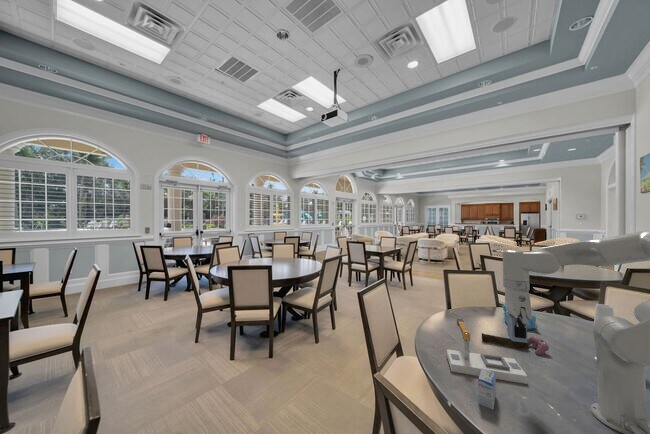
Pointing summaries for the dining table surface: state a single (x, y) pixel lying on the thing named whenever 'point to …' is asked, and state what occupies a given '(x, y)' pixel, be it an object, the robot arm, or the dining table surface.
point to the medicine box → (487, 388)
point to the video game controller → (538, 341)
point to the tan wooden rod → (463, 329)
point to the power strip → (485, 365)
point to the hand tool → (504, 341)
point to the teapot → (531, 322)
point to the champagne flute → (603, 312)
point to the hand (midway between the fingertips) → (517, 333)
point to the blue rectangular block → (511, 329)
